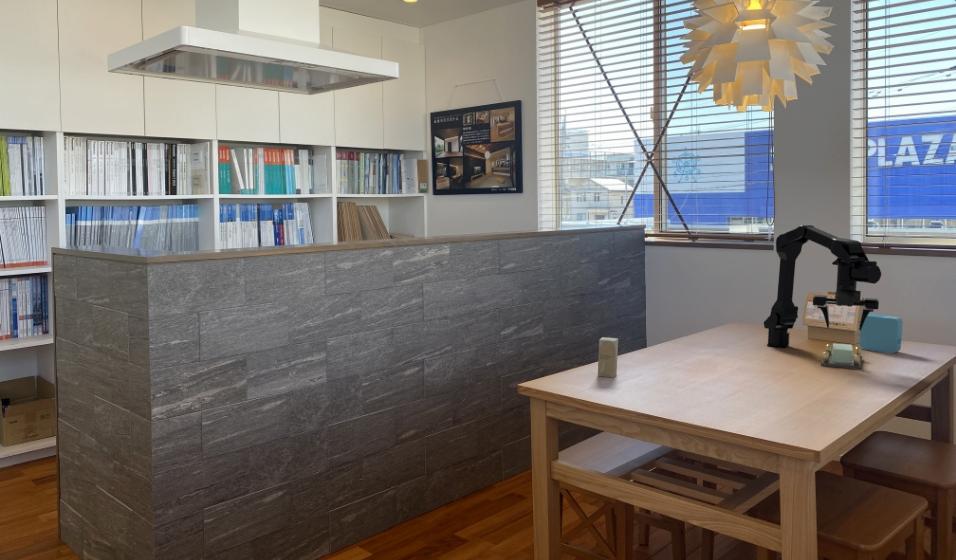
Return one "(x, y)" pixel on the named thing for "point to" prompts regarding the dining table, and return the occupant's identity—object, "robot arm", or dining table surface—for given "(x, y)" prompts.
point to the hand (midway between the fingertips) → (844, 328)
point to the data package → (881, 333)
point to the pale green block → (842, 353)
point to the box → (608, 357)
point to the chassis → (854, 365)
